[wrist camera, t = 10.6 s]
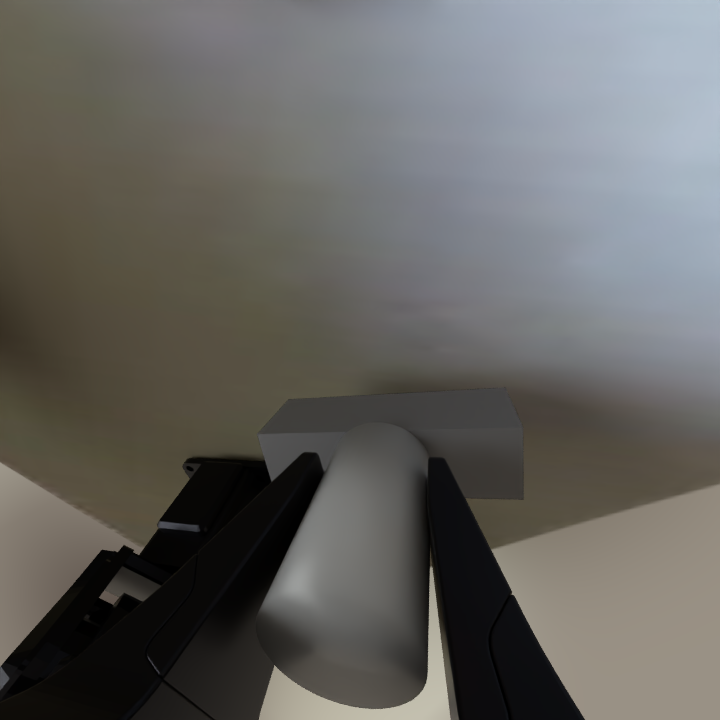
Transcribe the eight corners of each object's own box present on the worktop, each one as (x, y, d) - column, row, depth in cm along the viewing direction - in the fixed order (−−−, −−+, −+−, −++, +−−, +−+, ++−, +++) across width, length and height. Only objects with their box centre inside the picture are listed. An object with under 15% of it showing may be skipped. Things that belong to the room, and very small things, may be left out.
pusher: (507, 455, 12) (603, 756, 5) (303, 456, 14) (173, 671, 7) (504, 379, 11) (621, 622, 4) (286, 392, 13) (118, 568, 6)
